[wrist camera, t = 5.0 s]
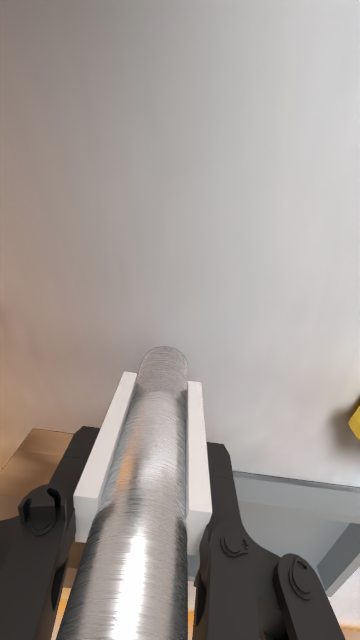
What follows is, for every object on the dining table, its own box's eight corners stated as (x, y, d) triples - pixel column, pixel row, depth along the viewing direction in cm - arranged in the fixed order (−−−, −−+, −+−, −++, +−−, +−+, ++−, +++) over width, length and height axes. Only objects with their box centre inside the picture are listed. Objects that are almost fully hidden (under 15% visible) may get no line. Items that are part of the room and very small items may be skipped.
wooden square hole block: (43, 512, 24) (10, 581, 20) (32, 428, 20) (-15, 493, 15) (159, 526, 25) (152, 597, 20) (175, 447, 20) (172, 516, 15)
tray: (163, 547, 26) (161, 577, 24) (183, 464, 21) (183, 494, 19) (319, 565, 27) (331, 596, 25) (378, 490, 21) (401, 521, 19)
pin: (140, 381, 17) (4, 854, 4) (144, 343, 16) (-30, 852, 3) (183, 387, 17) (173, 866, 5) (190, 350, 16) (205, 869, 3)
